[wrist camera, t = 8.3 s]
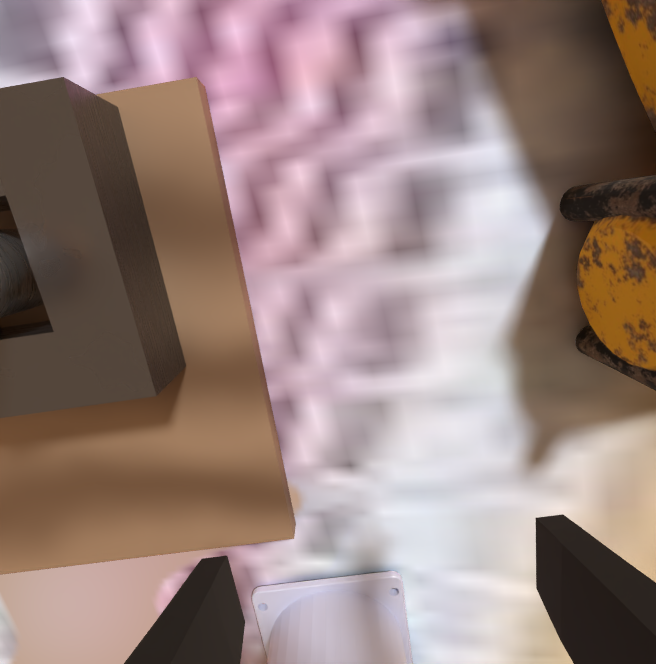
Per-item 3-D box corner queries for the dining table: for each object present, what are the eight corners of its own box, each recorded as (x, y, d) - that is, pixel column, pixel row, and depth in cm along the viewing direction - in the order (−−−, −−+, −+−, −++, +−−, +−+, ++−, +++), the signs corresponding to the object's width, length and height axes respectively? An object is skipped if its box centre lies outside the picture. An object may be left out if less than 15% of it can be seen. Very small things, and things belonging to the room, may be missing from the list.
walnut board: (295, 523, 20) (293, 538, 19) (-3, 560, 21) (-19, 576, 20) (205, 86, 15) (196, 76, 14) (-192, 155, 15) (-227, 151, 14)
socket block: (186, 366, 17) (156, 396, 14) (-37, 398, 17) (-111, 433, 14) (117, 106, 14) (63, 76, 11) (-144, 152, 14) (-262, 134, 12)
